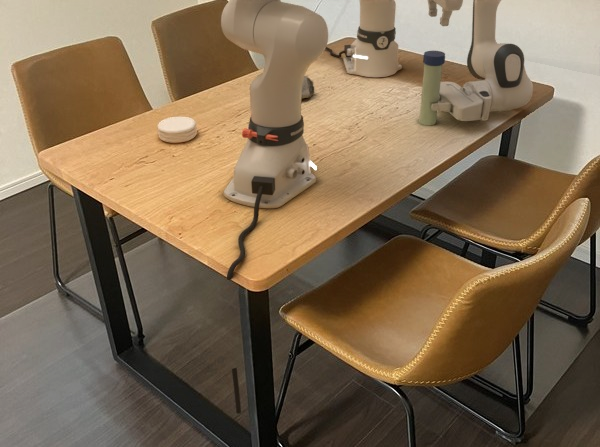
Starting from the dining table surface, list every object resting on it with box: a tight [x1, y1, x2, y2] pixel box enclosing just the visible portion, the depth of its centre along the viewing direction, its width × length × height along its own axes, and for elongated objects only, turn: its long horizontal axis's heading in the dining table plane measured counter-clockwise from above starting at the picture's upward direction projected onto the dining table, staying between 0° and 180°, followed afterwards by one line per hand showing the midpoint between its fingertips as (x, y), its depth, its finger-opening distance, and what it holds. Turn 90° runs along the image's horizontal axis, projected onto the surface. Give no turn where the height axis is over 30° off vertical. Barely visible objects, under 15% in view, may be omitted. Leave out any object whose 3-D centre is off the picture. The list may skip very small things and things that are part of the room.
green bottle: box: [418, 63, 444, 126], centre depth 164 cm, size 5×5×18 cm
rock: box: [301, 75, 315, 100], centre depth 186 cm, size 15×10×7 cm
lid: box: [422, 50, 446, 66], centre depth 159 cm, size 5×6×2 cm
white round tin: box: [156, 116, 198, 144], centre depth 162 cm, size 10×10×4 cm
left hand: (438, 20), depth 154 cm, fingers open, 8 cm apart
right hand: (426, 102), depth 166 cm, fingers closed on green bottle, 4 cm apart
